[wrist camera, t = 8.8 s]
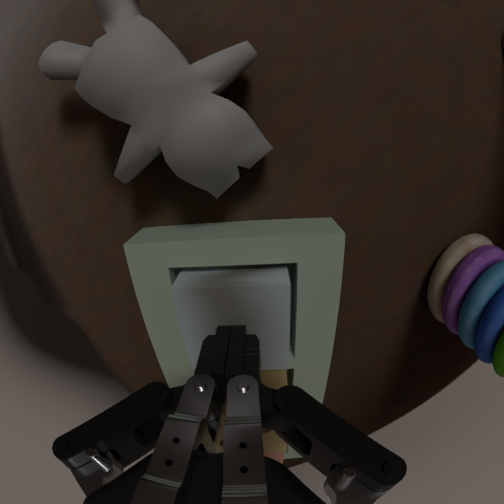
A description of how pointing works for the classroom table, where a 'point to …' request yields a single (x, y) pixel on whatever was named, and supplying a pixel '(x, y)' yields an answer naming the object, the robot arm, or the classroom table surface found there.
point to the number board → (245, 253)
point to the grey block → (236, 307)
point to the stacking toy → (472, 296)
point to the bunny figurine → (162, 98)
